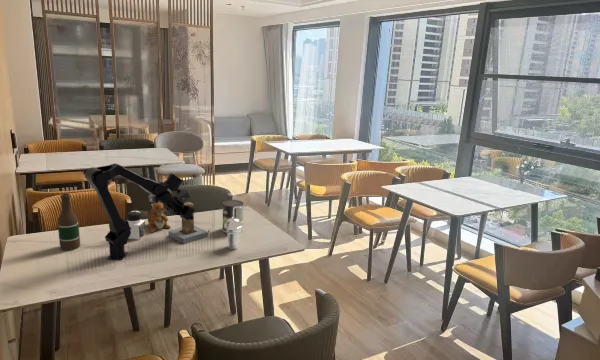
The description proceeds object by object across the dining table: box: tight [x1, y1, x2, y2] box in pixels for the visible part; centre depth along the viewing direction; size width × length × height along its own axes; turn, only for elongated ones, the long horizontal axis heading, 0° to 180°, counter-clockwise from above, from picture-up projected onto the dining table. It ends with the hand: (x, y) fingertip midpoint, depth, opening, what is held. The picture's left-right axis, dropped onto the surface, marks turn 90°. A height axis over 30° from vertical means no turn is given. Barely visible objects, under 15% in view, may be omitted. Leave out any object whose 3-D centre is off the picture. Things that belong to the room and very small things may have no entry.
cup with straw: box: [224, 205, 246, 250], centre depth 189 cm, size 8×9×20 cm
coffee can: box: [221, 199, 245, 234], centre depth 210 cm, size 10×10×14 cm
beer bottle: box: [57, 193, 81, 251], centre depth 181 cm, size 8×8×24 cm
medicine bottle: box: [126, 210, 146, 241], centre depth 197 cm, size 7×7×12 cm
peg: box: [181, 201, 195, 235], centre depth 199 cm, size 4×4×15 cm
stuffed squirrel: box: [147, 202, 171, 233], centre depth 210 cm, size 10×14×13 cm
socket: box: [168, 225, 209, 245], centre depth 201 cm, size 13×13×2 cm
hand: (190, 217), depth 200 cm, fingers open, 4 cm apart
